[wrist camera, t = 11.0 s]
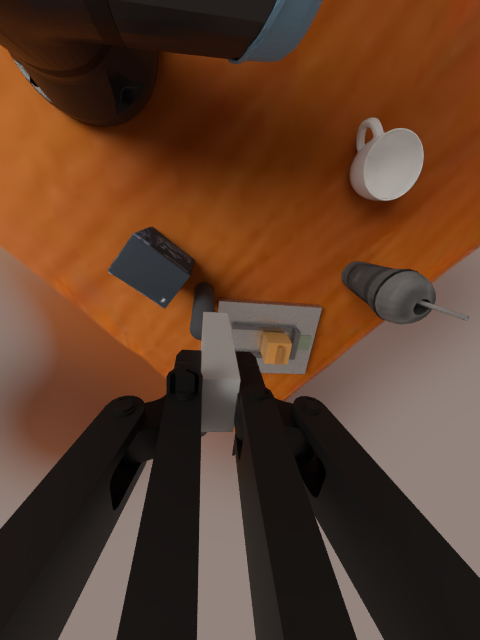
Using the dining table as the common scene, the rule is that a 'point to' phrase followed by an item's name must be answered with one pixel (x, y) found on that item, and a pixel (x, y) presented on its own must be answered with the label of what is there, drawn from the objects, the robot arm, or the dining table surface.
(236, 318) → the breaker panel
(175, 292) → the box
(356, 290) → the beverage cup
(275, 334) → the block
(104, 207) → the dining table surface
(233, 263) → the dining table surface
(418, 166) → the cup
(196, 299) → the cord post
